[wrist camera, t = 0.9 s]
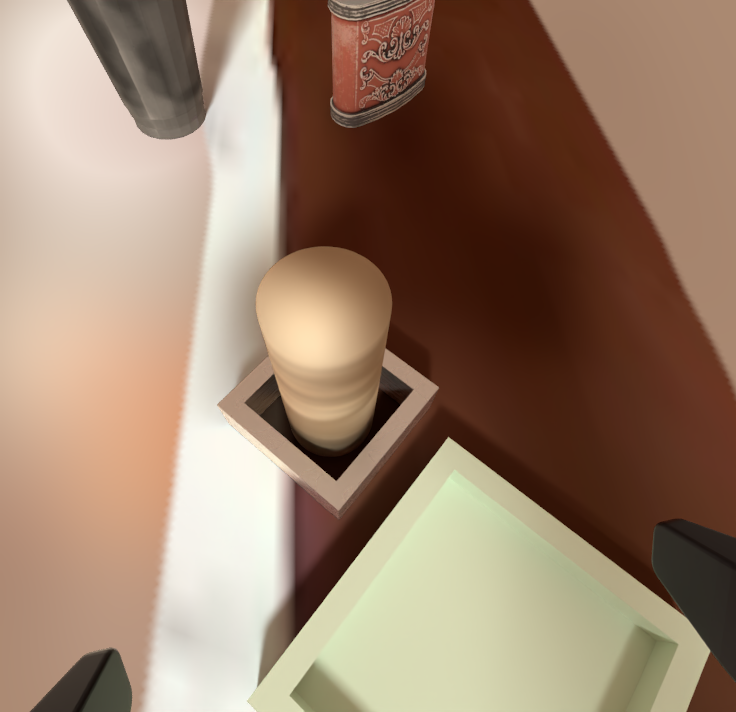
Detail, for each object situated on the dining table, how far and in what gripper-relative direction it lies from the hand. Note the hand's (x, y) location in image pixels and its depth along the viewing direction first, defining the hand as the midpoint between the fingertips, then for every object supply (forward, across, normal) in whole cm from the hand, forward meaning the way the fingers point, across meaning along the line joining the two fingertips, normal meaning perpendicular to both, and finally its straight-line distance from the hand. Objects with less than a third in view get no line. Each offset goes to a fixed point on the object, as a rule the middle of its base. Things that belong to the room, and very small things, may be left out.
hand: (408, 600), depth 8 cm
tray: (+8, -4, +11) cm, 14 cm away
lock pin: (+15, 0, +3) cm, 15 cm away
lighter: (+31, -7, -13) cm, 34 cm away
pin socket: (+15, 0, +3) cm, 15 cm away
